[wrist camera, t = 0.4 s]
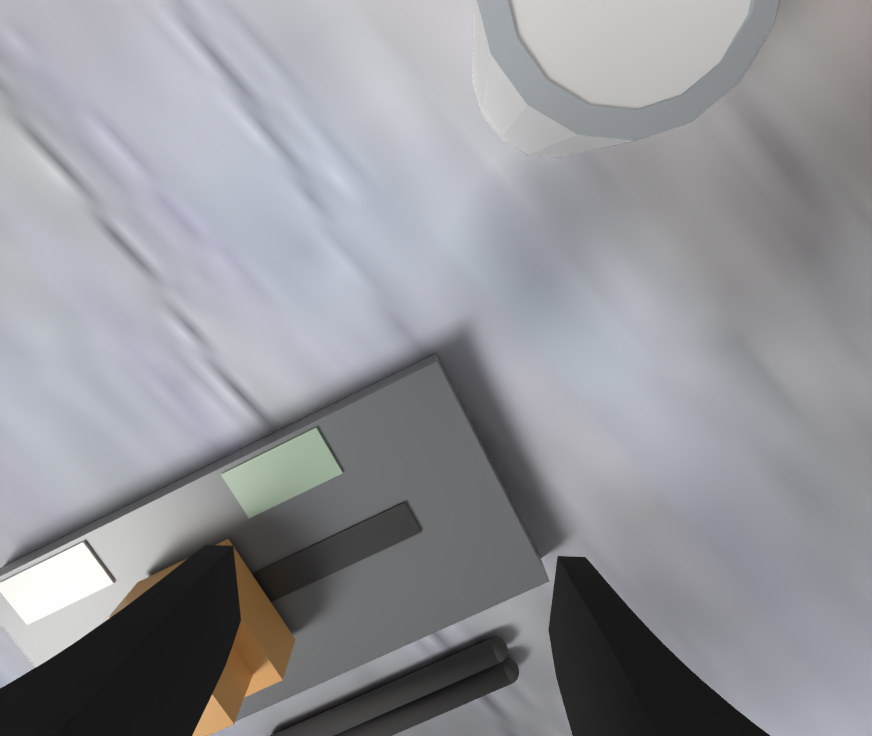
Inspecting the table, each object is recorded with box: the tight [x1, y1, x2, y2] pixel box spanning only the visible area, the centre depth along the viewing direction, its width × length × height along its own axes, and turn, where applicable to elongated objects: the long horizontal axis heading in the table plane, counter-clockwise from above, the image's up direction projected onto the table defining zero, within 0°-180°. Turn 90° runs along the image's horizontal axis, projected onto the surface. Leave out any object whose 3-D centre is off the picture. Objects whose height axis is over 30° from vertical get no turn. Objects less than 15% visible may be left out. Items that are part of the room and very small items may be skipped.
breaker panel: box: [0, 353, 549, 721], centre depth 21 cm, size 20×10×2 cm, turn 116°
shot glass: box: [472, 0, 779, 158], centre depth 15 cm, size 7×7×7 cm
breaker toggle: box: [107, 539, 296, 736], centre depth 19 cm, size 4×5×4 cm
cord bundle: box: [271, 637, 519, 736], centre depth 23 cm, size 12×2×1 cm, turn 116°
